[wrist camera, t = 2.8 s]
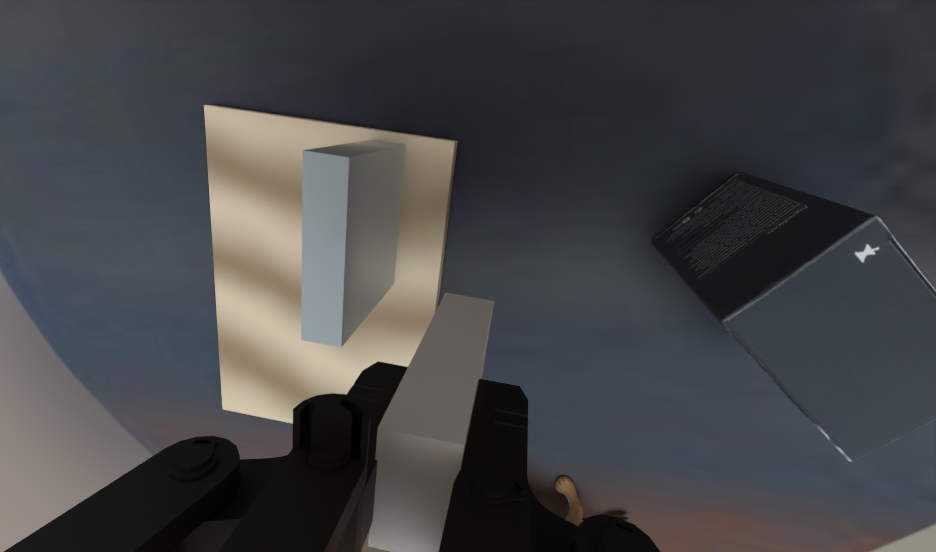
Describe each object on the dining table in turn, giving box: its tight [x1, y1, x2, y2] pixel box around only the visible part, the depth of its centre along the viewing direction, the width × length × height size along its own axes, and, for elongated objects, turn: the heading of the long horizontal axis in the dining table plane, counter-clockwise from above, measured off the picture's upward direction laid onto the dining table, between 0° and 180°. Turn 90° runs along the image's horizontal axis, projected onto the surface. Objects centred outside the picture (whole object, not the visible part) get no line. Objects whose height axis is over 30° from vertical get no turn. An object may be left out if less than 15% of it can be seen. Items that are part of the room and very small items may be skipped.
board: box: [204, 105, 458, 423], centre depth 29 cm, size 20×14×1 cm
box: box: [653, 172, 936, 462], centre depth 20 cm, size 8×6×11 cm
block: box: [301, 140, 406, 347], centre depth 22 cm, size 8×2×8 cm, turn 172°
